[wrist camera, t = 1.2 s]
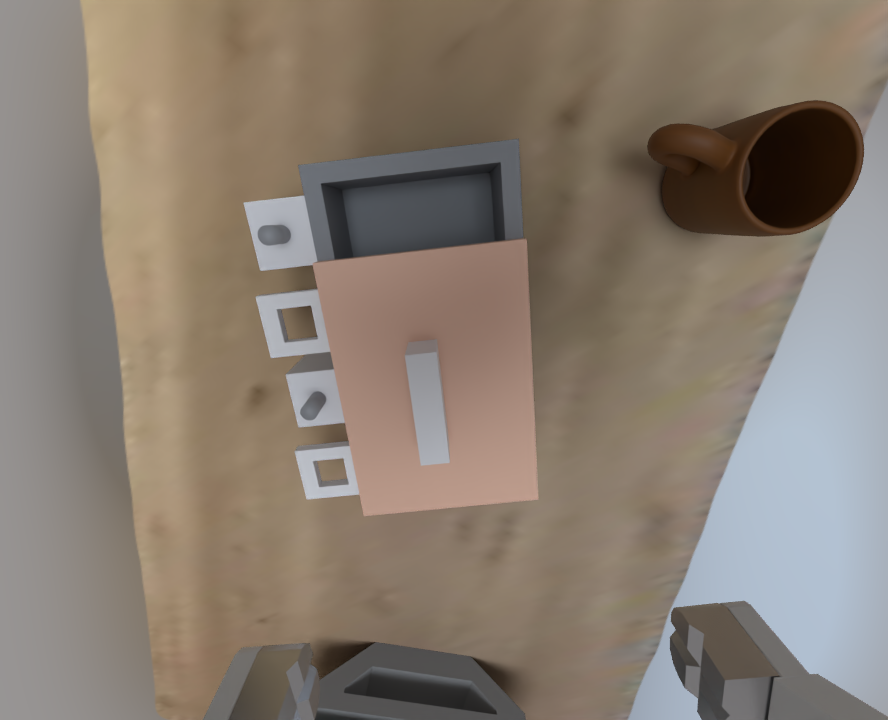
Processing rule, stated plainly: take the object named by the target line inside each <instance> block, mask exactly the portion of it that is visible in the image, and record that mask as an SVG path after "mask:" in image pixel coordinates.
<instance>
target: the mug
mask: <svg viewBox="0 0 888 720" xmlns="http://www.w3.org/2000/svg"><path fill="white" fill-rule="evenodd" d="M647 148H648V153H649V155H650V156H651V157H652V158H653V159H654V160H655V161H656V162H658V163H660V164H662V165H665V166H667V167H668V168H667V170H666V173H665V176H664V180H663V186H662V197H663V203H664V206H665V209H666V211H667V213H668V215H669V216H670V218H671V219H672V220H673V221H674V222H675V223H676V224H677V225H679V226H680V227H682V228H684V229H686V230H689V231H692V232H697V233H707V234H723V235H739V236H779V235H791V234H797V233H800V232H803V231H806V230H809V229H811V228H813V227H815V226H817V225H818V224H820V223H822V222H823V221H825V220H826V219H828V218H829V217H830V216H831V215H833V214H834V213H835V212H836V211H837V210H838V209H839V208H840V207H841V205H842V204H843V203H844V202H845V201H846V199H847V198H848V197H849V195H850V194H851V192H852V190H853V189H854V187H855V185H856V183H857V180H858V178H859V175H860V172H861V168H862V164H863V157H864V143H863V137H862V133H861V130H860V128H859V126H858V124H857V122H856V121H855V119H854V118H853V116H852V115H851V114H850V113H849V112H848V111H846V110H845V109H843V108H842V107H840V106H838V105H836V104H833V103H830V102H826V101H818V100H814V101H805V102H800V103H795V104H792V105H787V106H782V107H777V108H774V109H771V110H768V111H765V112H762V113H759V114H756V115H753V116H750V117H747V118H744V119H741V120H738V121H735V122H732V123H730V124H727V125H724V126H721V127H719V128H716V129H713V130H711V129H708V128H705V127H701V126H696V125H691V124H670V125H667V126H664V127H661V128H659V129H658V130H657V131H656V132H654V133H653V134H652V136H651V137H650V139H649V141H648V146H647Z"/></svg>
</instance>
